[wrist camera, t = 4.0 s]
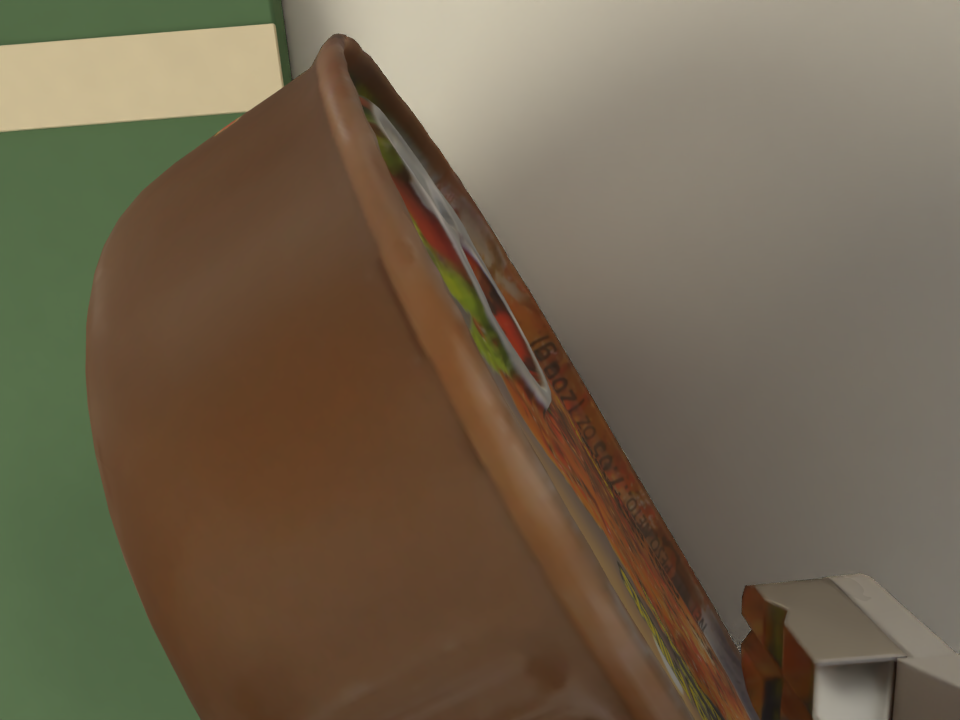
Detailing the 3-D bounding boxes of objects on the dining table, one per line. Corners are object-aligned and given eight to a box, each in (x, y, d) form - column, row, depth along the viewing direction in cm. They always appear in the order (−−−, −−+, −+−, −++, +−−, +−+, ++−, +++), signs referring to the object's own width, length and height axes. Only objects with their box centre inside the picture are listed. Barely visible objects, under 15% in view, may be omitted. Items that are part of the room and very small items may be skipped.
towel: (263, -135, 10) (247, -163, 9) (411, 961, 14) (407, 998, 14) (-516, -71, 10) (-591, -94, 9) (-106, 999, 14) (-135, 1038, 14)
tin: (799, 753, 13) (1341, 1623, 5) (667, 818, 14) (976, 1738, 5) (421, 104, 10) (243, -356, 2) (263, 205, 11) (-434, 153, 2)
